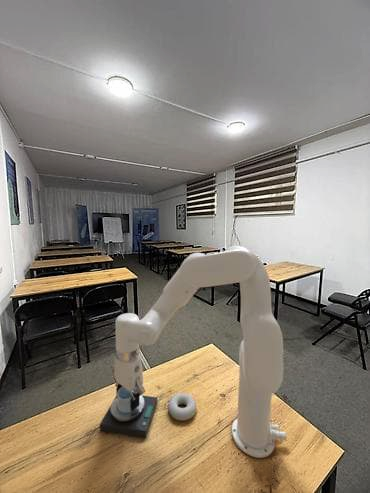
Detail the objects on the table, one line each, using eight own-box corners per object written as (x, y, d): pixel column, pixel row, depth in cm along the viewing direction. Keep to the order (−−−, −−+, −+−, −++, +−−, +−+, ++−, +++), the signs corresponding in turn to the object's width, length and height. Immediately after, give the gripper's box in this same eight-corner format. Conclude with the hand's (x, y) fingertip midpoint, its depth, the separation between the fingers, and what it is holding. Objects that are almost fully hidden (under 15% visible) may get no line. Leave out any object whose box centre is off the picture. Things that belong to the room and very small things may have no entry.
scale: (157, 403, 77) (157, 396, 76) (145, 438, 64) (146, 430, 64) (118, 398, 79) (118, 391, 78) (99, 431, 66) (99, 423, 66)
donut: (164, 420, 70) (193, 426, 68) (164, 411, 70) (193, 416, 68) (172, 397, 80) (198, 401, 78) (172, 388, 80) (198, 392, 78)
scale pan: (148, 395, 76) (148, 393, 76) (137, 423, 65) (137, 421, 65) (119, 392, 77) (119, 390, 77) (104, 418, 66) (104, 416, 66)
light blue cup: (140, 397, 74) (140, 385, 74) (133, 414, 67) (133, 401, 67) (122, 395, 75) (122, 383, 74) (113, 411, 68) (113, 398, 68)
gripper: (154, 356, 67) (153, 408, 69) (121, 338, 78) (121, 383, 79) (135, 368, 61) (135, 424, 63) (102, 347, 72) (103, 396, 73)
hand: (127, 401), depth 71 cm, fingers closed on light blue cup, 7 cm apart
